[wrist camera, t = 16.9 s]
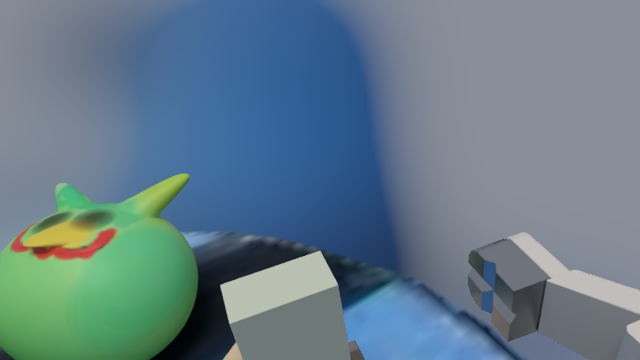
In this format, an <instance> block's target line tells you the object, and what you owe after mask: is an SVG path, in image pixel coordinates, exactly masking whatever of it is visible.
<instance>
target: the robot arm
mask: <svg viewBox="0 0 640 360" xmlns="http://www.w3.org/2000/svg"><path fill="white" fill-rule="evenodd" d="M469 263H470V265H471V266H472V267H473V268H472V270H471V271H470V273H469V274H468V286H469V289H470V292H471V295H472V297H473V299H474V300H475V302H476V303H477V305H478V306H479V307H480V309H482V310H484V311H486V312H489V313H491V314H492V323H493V325H494V326H495V327H496V328H497V329H498V331H499V332H500V333H501V334H502V336H503V337H504V338H505V339H506V340H507V342H509V341H512V340H514V339H517V338H520V337H522V336H525V335H528V334H530V333H533V332H536V331H538V333H539V334H541V335H543V336H545V337H547V338H549V339H551V340H553V341H555V342H557V343H558V344H561V345H562V346H564V347H566V348H568V349H570V350H572V351H574V352H576V353H578V354H580V355H581V356H583V357H585V358H587V359H589V360H640V291H639V290H636V289H633V288H630V287H627V286H624V285H621V284H618V283H615V282H612V281H609V280H606V279H603V278H600V277H597V276H593V275H590V274H587V273H584V272H581V271H578V270H572V271H569V270H568V269H567V268H566V267H565V266H564V265H562V264H561V263H560V262H559V261H558V260H557V259H555V258H554V256H552V255H551V254H550V253H549V252H548V251H547V250H546V249H545V248H543V247H542V246H541V245H540V244H539V243H538V242H537V241H536V240H534V239H533V238H532V237H531V236H530V235H529V234H527V233H524V232H522V233H519V234H517V235H514V236H511V237H508V238H506V239H502V240H499V241H496V242H494V243H491V244H488V245H486V246H483V247H480V248H477V249H475V250H472V251H471V252H470V254H469Z"/></svg>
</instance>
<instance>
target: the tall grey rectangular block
mask: <svg viewBox="0 0 640 360" xmlns="http://www.w3.org/2000/svg"><path fill="white" fill-rule="evenodd" d="M220 286H221V290H222V294H223V299H224V303H225V307H226V311H227V315H228V319H229V324H230V326H231V329H232V332H233V334H234V337H235V340H236V343H237V345H238V348H239V351H240V353H241V356H242V359H243V360H351V357H350V351H349V345H348V340H347V334H346V328H345V322H344V317H343V311H342V305H341V299H340V293H339V288H338V284H337V282H336V280H335V278H334V276H333V274H332V273H331V271H330V269H329V267H328V265H327V263H326V261H325V259H324V257H323V255H322V253H321V252H320V251H318V252H315V253H312V254H309V255H306V256H304V257H301V258H298V259H295V260H292V261H289V262H286V263H283V264H280V265H277V266H274V267H271V268H268V269H266V270H263V271H260V272H257V273H254V274H251V275H248V276H245V277H242V278H239V279H236V280H233V281H231V282H228V283H225V284H222V285H220Z"/></svg>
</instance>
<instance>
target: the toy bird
mask: <svg viewBox="0 0 640 360" xmlns="http://www.w3.org/2000/svg"><path fill="white" fill-rule="evenodd" d="M189 178H190V176H189V175H188V174H179V175H176V176H173V177H171V178H168V179H166V180H164V181H162V182H160V183H158V184H156V185H154V186H153V187H150V188H149V189H147V190H145V191H143V192H141V193H139V194H137V195H135V196H134V197H131V198H130V199H127V200H125V201H124V202H121V203H119V204H110V203H103V204H102V203H101V204H95V203H93V202H92V201H91V200H90V199H89V198H87V197H86V196H85V195H84V194H83V193H81V192H80V191H79V190H77V189H76V188H74V187H73V186H71V185H69V184H67V183H60V184H58V185H57V186H56V188H55V199H56V206H57V213H55V214H52V215H50V216H48V217H46V218H43V219H42V220H39V221H38V222H36V223H35V224H32V225H31V226H29V227H28V228H26V229H25V230H24V231H23V232H21V233H20V234H19V235H17V236H16V237H15V238H14V239H13V240H12V241H11V242H10V243H9V244H8V245H7V246H6V247H5V249H4V250H3V251H2V253H1V254H0V346H1V347H2V348H3V349H4V350H5V351H6V352H7V353H8V354H9V355H10V356H11V357H12V358H14V359H15V360H150V359H151V358H153V357H154V356H156V355H157V354H158V353H160V352H161V351H162V350H163V349H164V348H166V347H167V346H168V345H169V344H170V343H171V342H172V341H173V340H174V339H175V337H176V336H177V335H178V334H179V332H180V331H181V330H182V328H183V327H184V325H185V323H186V322H187V320H188V318H189V316H190V314H191V311H192V309H193V306H194V303H195V299H196V295H197V288H198V269H197V264H196V260H195V256H194V254H193V251H192V249H191V247H190V245H189V244H188V242H187V240H186V239H185V238H184V236H183V235H182V234H181V233H180V232H179V231H178V230H177V229H176V228H175V227H174V226H173V225H172V224H171V223H169V222H168V221H167V220H165V219H163V218H162V217H160V216H159V215H160V213H161V212H162V211H163V210H164V208H165V207H166V206H167V205H168V204H169V203H170V202H171V201H172V200H173V199H174V197H175V196H176V195H177V194H178V193H179V192H180V191H181V190H182V189H183V187H184V186H185V185H186V183H187V182H188V180H189Z"/></svg>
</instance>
